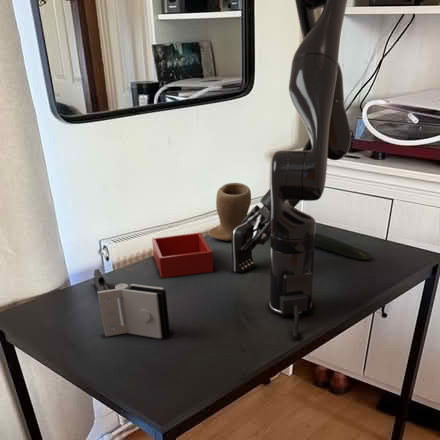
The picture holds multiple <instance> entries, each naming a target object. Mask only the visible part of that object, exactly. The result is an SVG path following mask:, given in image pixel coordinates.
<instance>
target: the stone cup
mask: <svg viewBox="0 0 440 440" xmlns="http://www.w3.org/2000/svg"><path fill="white" fill-rule="evenodd" d="M251 203H252V192H251V189H250V187H249V186H248V185H246V184H244V183H241V182H228V183H225V184H223V185H222V186H221V187H219V188H218V190H217V191H216V200H215V204H216V205H215V206H216V207H215V208H216V213H217V216H218V219H219V225H217V226H216V227H213V228H212V229H210V230H209V231H208V235H209V236H210V237H211V238H213V239H215V240H220V241H226V242H227V241H232V230H233V229H234V228H235V227H237V226H239V225H241V224H242V223H241V222H242V220H243V219H244V218H245V217H246V216H247V215H248V214H249V210H250V207H251Z"/></svg>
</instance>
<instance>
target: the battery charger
mask: <svg viewBox="0 0 440 440" xmlns="http://www.w3.org/2000/svg"><path fill="white" fill-rule="evenodd" d="M253 229H254V226H253V225H251V224H248V223H243V224H241V225H239V226H237V227H235V228H234V229H233V230H232V240H231V258H232V261H231V262H232V271H233V272H234V273H246V272H248V271H249V270H251V269H253V268H254V266H255V264H256V263H255V261H254V258H253V250H252V251H251V252H250V253H249V254H248V255H246V254H244V253H243V252H242V251H241V248H242V247H243V246H244V245H245V244H246V243H247V241H248V240H249V239H250V238H251V237H252V235H253V233H254V231H253Z"/></svg>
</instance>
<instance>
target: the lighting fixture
mask: <svg viewBox="0 0 440 440" xmlns="http://www.w3.org/2000/svg"><path fill="white" fill-rule="evenodd" d="M93 276H94V277H93V281H94V286H95V287H96V290H97V292H99V291H105V290H110V288H109V287H108V285H107V283H106V279H105V277H104V275H103V273H102V272H101V270H100V268H99V269H98V268H97V269H94V273H93ZM106 301H107V302H109V301H110V299H109V298H107V299H106Z"/></svg>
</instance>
